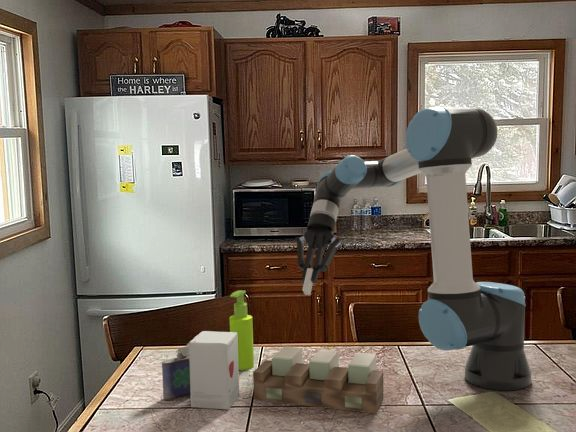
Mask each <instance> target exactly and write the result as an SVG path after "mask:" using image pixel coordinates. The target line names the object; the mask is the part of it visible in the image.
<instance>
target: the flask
mask: <svg viewBox="0 0 576 432" xmlns="http://www.w3.org/2000/svg"><path fill="white" fill-rule="evenodd" d="M178 351H179V352H178ZM182 351H183V350H176V351H175V352H176V353H177V355H176V357H174V358H173V357H172V358H170V359H169V358H168V359H166V360H165V359H164V360H163V361H162V362H161V371H162V374H161V375H162V398H163V400H164V401H165V402H167V401H174V400H176V399H181V398H185V397H189V396H190V397H191V392H190V361H189V354H187V355H185V354H183V353H182Z"/></svg>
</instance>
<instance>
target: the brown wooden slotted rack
mask: <svg viewBox="0 0 576 432" xmlns="http://www.w3.org/2000/svg"><path fill="white" fill-rule="evenodd" d="M252 380H253V381H252V383H253V400H255V401H261V402H272V403H281V404H289V405H296V406H297V405H298V406H306V407H314V408H315V407H316V408H324V409H325V408H326V409H333V410H343V411H350V412H360V413H369V414H374V415H375V414H377V413H378V411H379V410H380V408H381V406H382V403H383V402H384V401H383V400H384V370H377V369H376V370H373V371H372V372H371V374H370V376H369V378H368V379H367V381H366V383H365V384H356V383H348V367H344V366H343V367H342V366H339V367H333V368H332V370H331V371H330V372H329V374H328V375H327V376H326V378H325V379H324V380H316V379H310V370H309V363H303V364H301V363H296V364H295V365H294V366H293V367H292V368H291V369H290V370H289V372H288V373H287V374H286V375H285V376H276V375H272V360H267V359H265V360H264V361H263V362H262V363H260V365H259V366H258V367H256V368H255V369H254V370H253V371H252Z"/></svg>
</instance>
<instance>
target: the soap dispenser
mask: <svg viewBox="0 0 576 432" xmlns="http://www.w3.org/2000/svg"><path fill="white" fill-rule="evenodd" d="M245 294H246V290H241V289H239V290H238V289H237V290H235V291H234V292H232V293H231V294H230V295H229V297H230V298H235V299H236V302H235V303H234V304H233V315H231V316H229V332H237V337H238V369H239V371H246V370H251V369H252V368H254V367H255V362H254V361H255V360H254V359H255V358H254V328H253V316H252V314H251V315H250V314H248V303H247V302H245V300H244V295H245Z"/></svg>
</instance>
